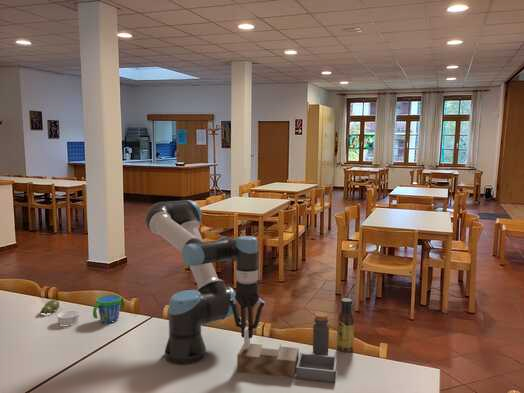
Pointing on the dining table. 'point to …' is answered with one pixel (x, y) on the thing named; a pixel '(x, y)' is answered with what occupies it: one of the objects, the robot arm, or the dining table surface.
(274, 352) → the tile
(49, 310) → the pear
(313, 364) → the box
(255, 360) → the brown wooden block
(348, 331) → the sauce bottle
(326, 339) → the bottle
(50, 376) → the dining table surface
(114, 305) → the snack cup
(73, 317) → the ramekin
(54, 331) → the dining table surface
